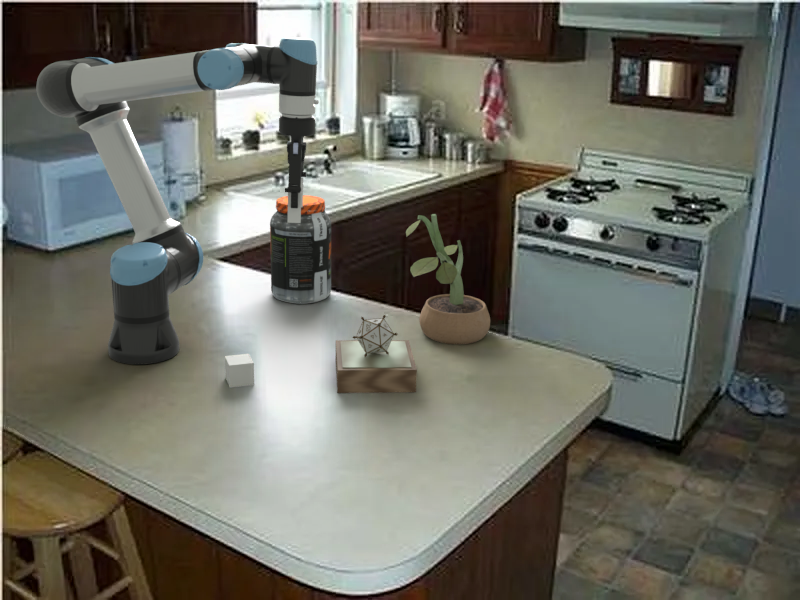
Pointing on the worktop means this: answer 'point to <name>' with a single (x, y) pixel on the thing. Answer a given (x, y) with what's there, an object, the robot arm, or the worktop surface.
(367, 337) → the game die
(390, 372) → the walnut framed mirror
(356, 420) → the worktop surface
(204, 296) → the worktop surface
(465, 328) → the potted plant
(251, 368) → the grey block
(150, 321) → the robot arm
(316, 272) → the supplement tub
